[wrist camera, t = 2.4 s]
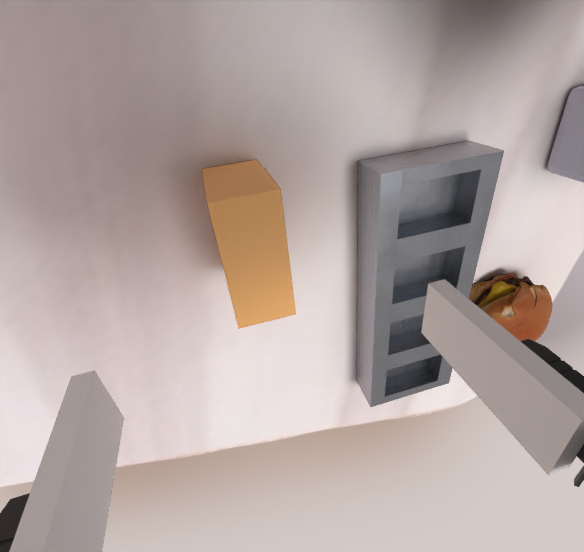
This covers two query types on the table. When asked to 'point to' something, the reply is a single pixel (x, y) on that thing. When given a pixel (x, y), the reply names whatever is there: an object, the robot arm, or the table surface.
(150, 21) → the table surface
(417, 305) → the grey compartment tray
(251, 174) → the orange bridge block
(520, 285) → the burger
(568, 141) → the soap bottle
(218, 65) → the table surface
